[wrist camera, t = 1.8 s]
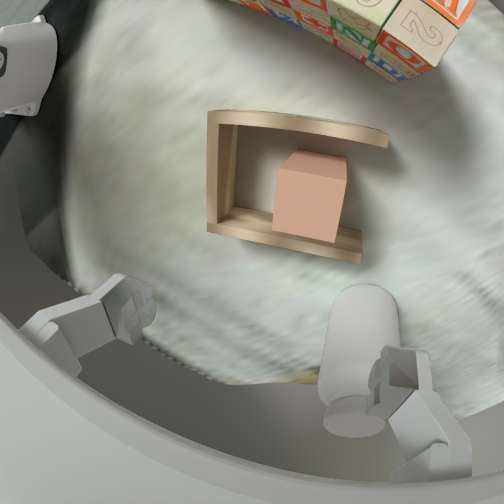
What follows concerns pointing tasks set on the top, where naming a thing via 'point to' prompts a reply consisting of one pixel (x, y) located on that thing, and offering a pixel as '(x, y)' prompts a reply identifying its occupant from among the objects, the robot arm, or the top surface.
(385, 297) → the pill bottle
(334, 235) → the terracotta block
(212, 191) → the oak u-shaped frame
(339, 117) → the top surface
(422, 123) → the top surface
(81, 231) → the top surface
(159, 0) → the top surface
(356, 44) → the stack of blocks
